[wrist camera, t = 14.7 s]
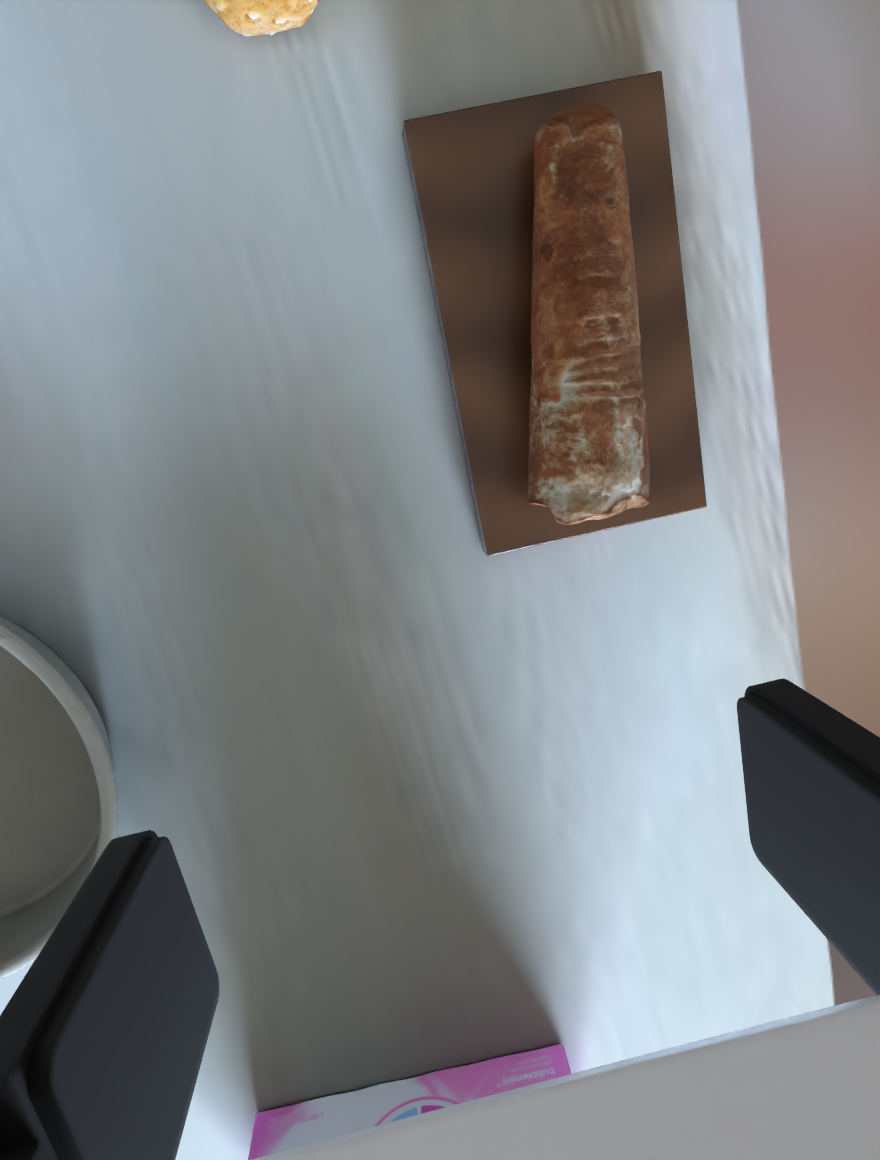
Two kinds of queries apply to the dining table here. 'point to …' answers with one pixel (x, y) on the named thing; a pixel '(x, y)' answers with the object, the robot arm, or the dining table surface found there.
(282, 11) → the bagel
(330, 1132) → the gum box
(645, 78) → the bread board
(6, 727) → the cake pan
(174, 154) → the dining table surface
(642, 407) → the bread
